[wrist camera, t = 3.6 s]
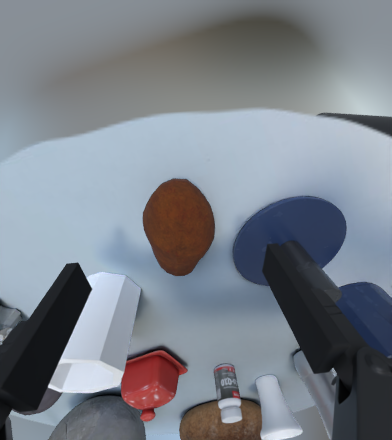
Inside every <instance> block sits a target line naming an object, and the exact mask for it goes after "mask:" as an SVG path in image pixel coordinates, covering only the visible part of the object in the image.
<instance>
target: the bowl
mask: <svg viewBox="0 0 392 440" xmlns="http://www.w3.org/2000/svg"><path fill="white" fill-rule="evenodd" d="M140 416H141V415H140V413H139V411H138V410H137V409H136V408H134V407H132V406H130V405H129V404H127V403H126V402H125V401H124V400H123V398H122V397H118V396H99V397H94V398H91V399H88V400H86V401H84V402H82V403H81V404H79V405H78V406H76V407H75V408H74V409H72V410H71V411H70V412H69V413H68V414H67V415H66V416H65V417H64V418H63V419H62V420H61V421H60V423H59V424H58V425H57V426H56V428H55V430H54V431H53V432H52V434H51V436H50V438H49V439H48V440H146V435H145V427H144V423H143V421H142V420H141V419H140Z"/></svg>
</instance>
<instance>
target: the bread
mask: <svg viewBox="0 0 392 440" xmlns="http://www.w3.org/2000/svg"><path fill="white" fill-rule="evenodd" d="M239 408H240V409H241V414H242V420H240V421H238V422H234V423H223V422H222V419H221V409H220V408H219V406H218V400H217V401H213V402H209V403H206V404H202V405H199V406H197V407H194V408H193V409H191V410H190V411H188V412H187V413H186V414H185V415H184V417H183V418H182V420H181V423H180V428H179V431H180V439H181V440H262V439H261V436H260V433H261V430H262V414H261V407H260V406H259V405H258V404H256V403H254V402H252V401H248V400H243V399H241V405H240V407H239Z"/></svg>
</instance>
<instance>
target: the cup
mask: <svg viewBox="0 0 392 440" xmlns="http://www.w3.org/2000/svg"><path fill="white" fill-rule="evenodd" d="M255 383H256V386H257V390H258V394H259V398H260V404H261V414H262V430H261V433H260V436H261V439H262V440H281V439H287V438H291V437H294V436H298V435H300V434H301V433H302V432H303V430H302V428H301V426H300V425H299V424H298V422H297V421H296V419H295V418H294V416H293V414H292V412H291V410H290V408H289V406H288V405H287V403H286V401H285V399H284V396H283V394H282V392H281V389H280V387H279V384H278V381H277V378H276V377H275V376H274V375H265V376H261V377H259V378H257V379H256V381H255Z"/></svg>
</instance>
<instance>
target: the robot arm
mask: <svg viewBox="0 0 392 440" xmlns="http://www.w3.org/2000/svg"><path fill="white" fill-rule="evenodd" d="M262 272H263V274H264V276H265V278H266V280H267V282H268V284H269V286H270V288H271V290H272V292H273V294H274V296H275V298H276V300H277V302H278V304H279V306H280V308H281V310H282V312H283V314H284V316H285V318H286V320H287V322H288V324H289V326H290V328H291V330H292V332H293V334H294V336H295V338H296V340H297V342H298V344H299V346H300V348H301V350H302V352H303V354H304V356H305V358H306V360H307V362H308V364H309V366H310V368H311V369H312V371H313V373H314V374H319V373H327V372H330V370H331V369H332V368H334V369H335V371H336V373H337V375H336V376H335V378H334V379H333V380H332V383H331V385H333V386H334V385H335V384H336V389H335V403H334V417H333V430H332V440H392V359H390V358H387V357H386V356H385V355H384V354H382V353H381V352H379V351H378V350H376V349H373V348H371V347H370V346H369V345H368V344H367V343H366V342H365V341H364V339H363V338H362V337H361V335H360V334H359V333H358V332H357V330H356V329H355V328H354V327H353V325H352V324H351V323H350V322H349V320H348V319H347V318H346V316H345V315H344V314H343V313H342V311H341V310H340V309H339V308H338V306H336V304H335V302H334V301H333V300H332V299H331V297H330V296H329V295H328V294H327V293H325V292H324V291H323V290H321V289H320V288H314V289H310V287H309V286H308V285H307V283H306V282H305V280H304V279H303V278H302V276H301V275H300V273H299V272H298V271H297V269H296V268H295V266H294V265H293V264H292V262H291V261H290V260H289V258H288V257H287V255H286V254H285V253H284V251H283V250H282V248H281V247H280V246H279V244H278V243H275V244H267V248H266V253H265V259H264V264H263V269H262ZM91 291H92V288H91V286H90V284H89V282H88V280H87V278H86V276H85V274H84V273H83V271H82V269H81V267H80V265H79V263H70V264H66V266H65V267H64V268H63V270H62V271H61V273H60V274H59V276H58V277H57V279H56V280H55V282H54V283H53V285H52V286H51V287H50V289H49V290H48V292H47V293H46V295H45V296H44V298H43V299H42V301H41V302H40V303H39V305H38V306H37V308H36V309H35V311H34V312H33V314H32V315H31V317H30V318H29V320H27V321H21V322H20V323H19V324H18V325H17V326H16V327H15V328H14V329H13V330H11V331H10V333H9V334H8V336H7V337H6V338H5V340H4V341H3V342H2V343H3V344H2V345H0V440H13V438H12V428H11V420H10V418H9V417H8V416H9V414H10V412H11V410H12V409H14V410H16V411H18V412H20V413H21V412H28V411H36V410H38V407H39V405H40V403H41V401H42V399H43V396H44V394H45V392H46V390H47V388H48V385H49V383H50V381H51V379H52V377H53V374H54V372H55V370H56V368H57V366H58V363H59V361H60V359H61V357H62V355H63V352H64V350H65V348H66V346H67V344H68V341H69V339H70V337H71V335H72V333H73V330H74V328H75V326H76V324H77V322H78V319H79V317H80V315H81V313H82V311H83V308H84V306H85V304H86V302H87V300H88V297H89V295H90V293H91Z"/></svg>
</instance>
